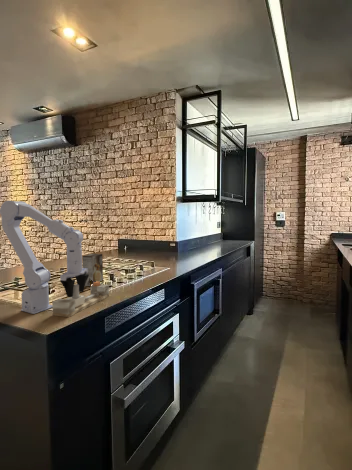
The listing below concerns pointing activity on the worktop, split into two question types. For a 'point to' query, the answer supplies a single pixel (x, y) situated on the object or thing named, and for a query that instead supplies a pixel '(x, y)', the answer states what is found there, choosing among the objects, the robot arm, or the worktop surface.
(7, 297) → the worktop surface
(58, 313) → the rail base
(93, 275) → the coffee box
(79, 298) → the carriage
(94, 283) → the button
